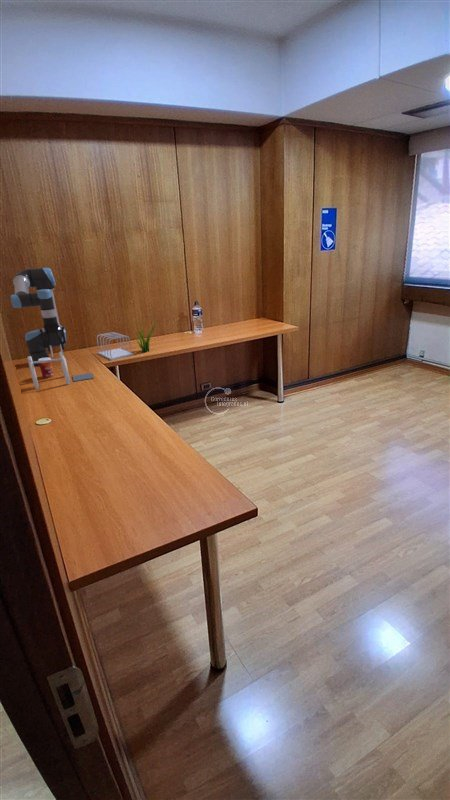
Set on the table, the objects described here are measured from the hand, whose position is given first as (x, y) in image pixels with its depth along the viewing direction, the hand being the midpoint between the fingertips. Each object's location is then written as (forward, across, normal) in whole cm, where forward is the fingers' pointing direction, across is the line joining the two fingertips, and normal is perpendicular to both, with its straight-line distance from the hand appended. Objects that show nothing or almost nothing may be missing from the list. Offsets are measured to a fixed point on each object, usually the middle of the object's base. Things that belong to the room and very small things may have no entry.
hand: (57, 355), depth 238 cm
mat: (+16, +12, 0) cm, 20 cm away
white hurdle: (+16, -7, 0) cm, 17 cm away
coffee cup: (+19, -9, +15) cm, 26 cm away
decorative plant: (+16, +62, +47) cm, 80 cm away
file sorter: (+16, +38, +48) cm, 63 cm away
